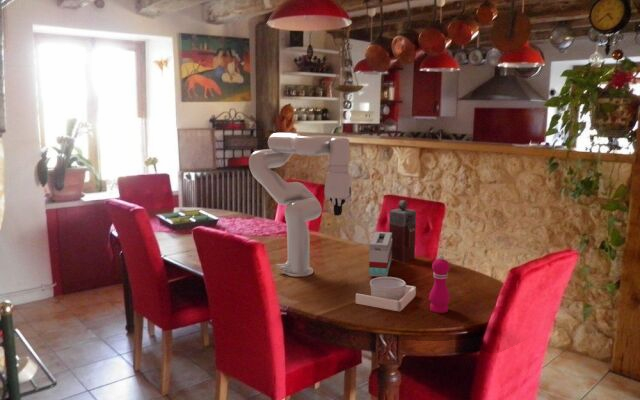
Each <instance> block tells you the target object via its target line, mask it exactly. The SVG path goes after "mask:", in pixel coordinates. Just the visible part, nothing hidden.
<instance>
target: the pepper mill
mask: <svg viewBox="0 0 640 400" xmlns="http://www.w3.org/2000/svg"><path fill="white" fill-rule="evenodd" d="M431 268H432V271H433V275H432V276H433V279H434V283H433V286H432V288H431V290H430V291H429V292H430V293H429V294H428V295H429V296H428V299H429V301H430V304H429V305H430V306H429V309H430V311H432V312H434V313H437V314H443V313H447V312H448V311H449V305H448V304H449V303H450V302H451V295H450V292H449V289H448V286H447V279H448V278H449V277H448V276H449V273H448V272H449V271H450V269H451V267H450V263H449V262H448V260H447V259H445V256H444V255H443V254H440V255H438V258H437V259H435V260H434V261H433V262H432V265H431Z"/></svg>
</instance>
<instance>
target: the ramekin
mask: <svg viewBox="0 0 640 400" xmlns="http://www.w3.org/2000/svg"><path fill="white" fill-rule="evenodd" d="M406 285H407V283H406V282H405V280H403V279H401V278H399V277H394V276H393V277H392V276H387V277H375V278H374V277H373V278H372V279H371V280H370V281H369V287H370V294H371V295H370V296H375V297H380V298H386V299H391V300H397V301H399V300H400V299H401V298H402V297H403V296H404V291H405V287H406Z"/></svg>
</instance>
